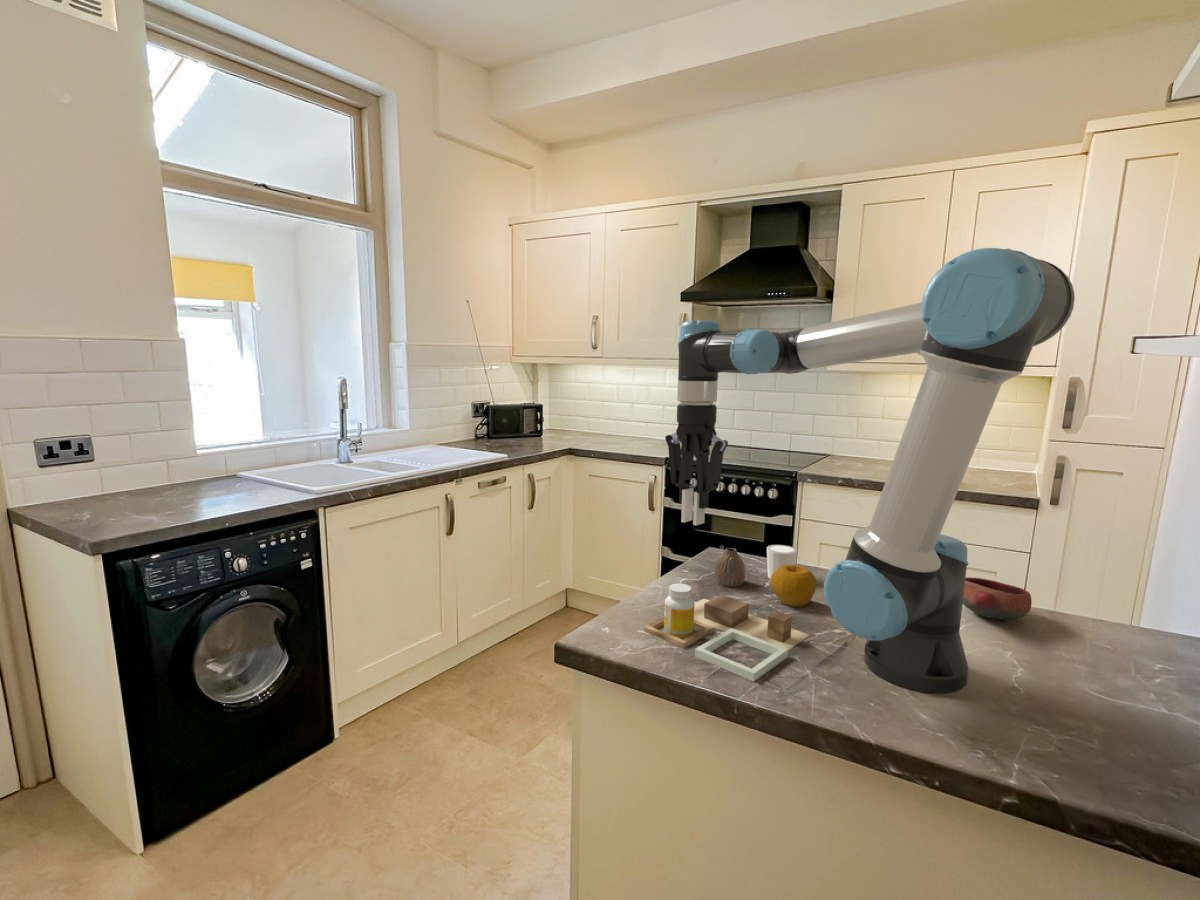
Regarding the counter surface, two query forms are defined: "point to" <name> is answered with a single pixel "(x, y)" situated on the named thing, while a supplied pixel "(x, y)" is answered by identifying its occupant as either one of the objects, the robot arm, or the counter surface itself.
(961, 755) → the counter surface
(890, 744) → the counter surface
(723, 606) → the walnut block
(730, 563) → the vase
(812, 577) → the apple
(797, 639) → the board
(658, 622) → the oak collar
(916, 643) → the robot arm
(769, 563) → the white cylinder
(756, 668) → the tray
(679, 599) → the supplement bottle
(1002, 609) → the bowl
